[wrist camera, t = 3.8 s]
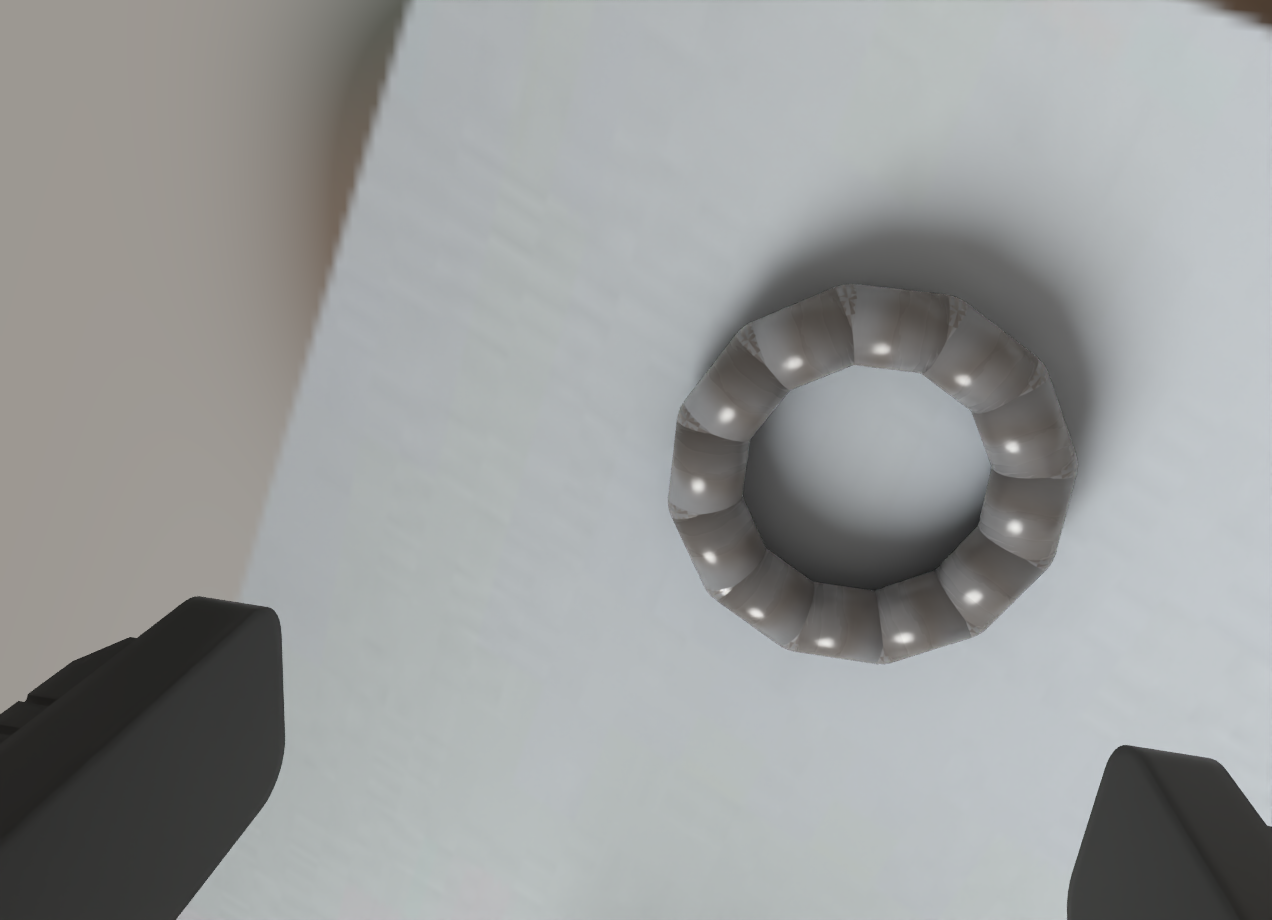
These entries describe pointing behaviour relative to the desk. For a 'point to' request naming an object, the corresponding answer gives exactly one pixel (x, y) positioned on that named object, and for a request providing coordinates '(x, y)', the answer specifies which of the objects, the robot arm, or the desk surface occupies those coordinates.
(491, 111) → the desk surface
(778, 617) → the grey beaded ring
